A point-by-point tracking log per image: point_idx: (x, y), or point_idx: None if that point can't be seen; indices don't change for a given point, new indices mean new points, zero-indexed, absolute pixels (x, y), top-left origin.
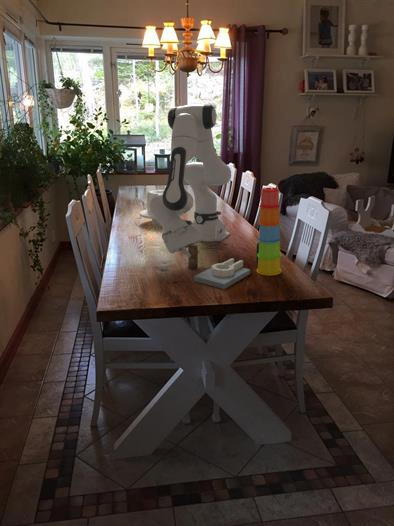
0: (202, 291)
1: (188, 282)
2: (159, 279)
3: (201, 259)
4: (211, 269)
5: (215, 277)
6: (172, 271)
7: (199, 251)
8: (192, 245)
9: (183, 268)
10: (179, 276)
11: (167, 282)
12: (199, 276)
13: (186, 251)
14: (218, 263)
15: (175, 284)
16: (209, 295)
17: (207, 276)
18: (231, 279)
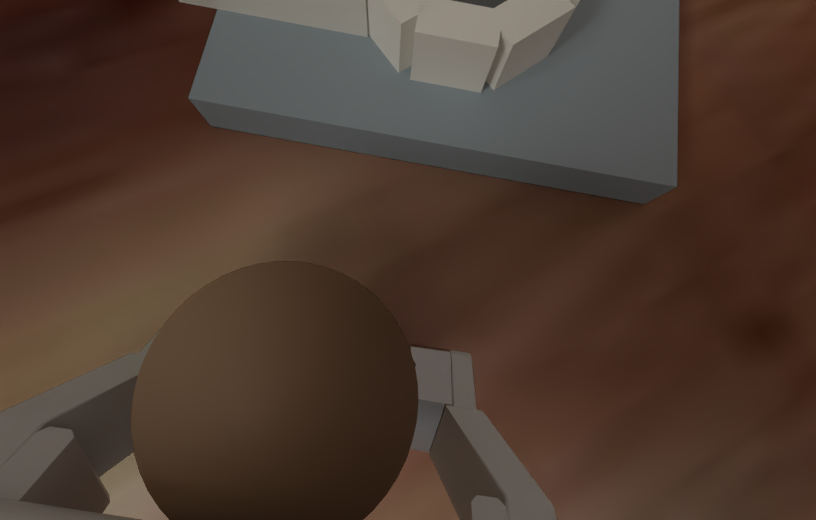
0: (774, 69)
1: (694, 229)
2: (795, 512)
3: None
4: (510, 65)
5: (596, 16)
6: None
7: None
8: (285, 414)
9: None
10: (620, 370)
11: (804, 395)
12: (652, 139)
13: (507, 447)
14: (392, 8)
15: (795, 306)
16: (799, 8)
17: (614, 79)
18: None
